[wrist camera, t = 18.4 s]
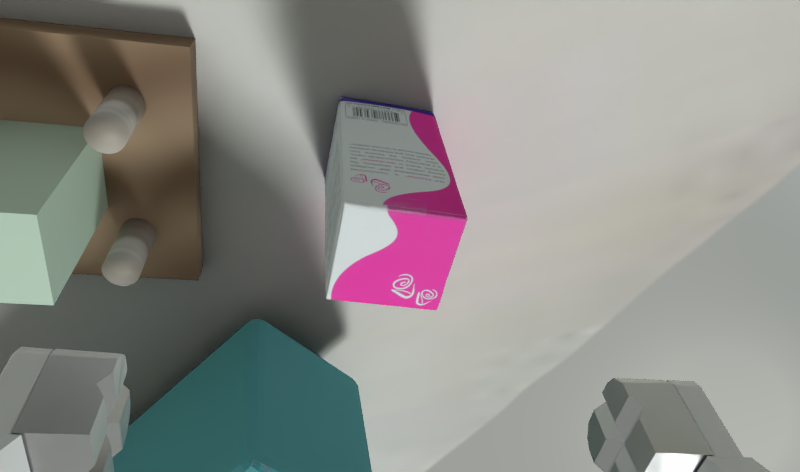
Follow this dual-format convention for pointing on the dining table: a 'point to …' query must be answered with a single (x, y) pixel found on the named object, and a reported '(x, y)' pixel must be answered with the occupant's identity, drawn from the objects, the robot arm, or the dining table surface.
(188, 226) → the peg board
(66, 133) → the sage block
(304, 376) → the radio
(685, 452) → the robot arm
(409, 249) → the supplement box
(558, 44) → the dining table surface
